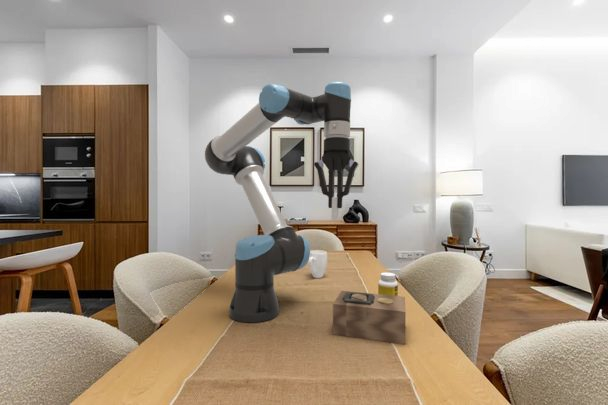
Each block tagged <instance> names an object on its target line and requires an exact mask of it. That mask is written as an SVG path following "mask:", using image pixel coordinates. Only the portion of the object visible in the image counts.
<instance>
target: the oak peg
mask: <svg viewBox="0 0 608 405" xmlns="http://www.w3.org/2000/svg"><path fill="white" fill-rule="evenodd" d="M352 299H356V300H365V301H366V300H367V297H366V295H363V294H353V295H352Z"/></svg>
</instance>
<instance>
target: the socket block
mask: <svg viewBox="0 0 608 405" xmlns="http://www.w3.org/2000/svg"><path fill="white" fill-rule="evenodd" d="M353 294H363V295H366V297H367V300H366V301H365V300H356V299H352V295H353ZM406 312H407V311H406V297H405V296H402V295H401V296H399V295H398V296H391V295H380V294H378V293H367V292H357V291H356V292H355V291H349V290H341V291H340V292H339V294H338V295H337V297H336V298H335V300H334V302H332V335H335V336H336V335H337V336H341V337H342V336H343V337H349V338H358V339H365V340H370V341H378V342H386V343H394V344H398V345H399V344H400V345H406V318H407V316H406V314H407V313H406Z"/></svg>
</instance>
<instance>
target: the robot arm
mask: <svg viewBox="0 0 608 405" xmlns="http://www.w3.org/2000/svg"><path fill="white" fill-rule="evenodd" d="M261 90H262V91H260V92H259V97H258V103H257V104H256V105H255V106H253V107H252V108H251V109H250V110H249V111H248V112H247V113H246V114H245V115H243V116H242V117H241V118H240V119H239V120H238V121H236V122H235V123H234V124H233V125H231V127H229V129H227V130H226V131H225V132H223V134H221V135H216V136H214V137H213V138H212V139H211V140H210V141H209V142H208V143H207V145H206V148H205V150H204V158H205V162H206V164H207V166H208V167H209V169H211V170H212V171H213V172H214V173H217V174H220V175H227V176H228V175H229V176H232V177H233V179H234V181H235V182H236V184H237V185H240V186H242V188H243V191H244V193H245V195H246V197H247V199H248V201H249V204H250V206H251V208H252V210H253V213H254V215H255V216H256V219H257V221H258V224H259V225H260V228H261V230H262V232H263V234H259V235H251V236H246V237H244V238H241V239H239V240H238V241H237V242H236V245H235V252H234V258H235V260H234V261H235V264H234V266H235V270H234V271H235V272H234V273H235V274H234V275H235V277H234V279H235V280H234V282H235V287H234V292H233V295H232V298H231V302H230V303H229V304H230V305H229V307H228V308H229V309H228V310H229V311H228V312H229V313H228V314H229V317H230V318H231V319H232V320H234V321H237V322H241V323H261V322H265V321H269V320H273V319H274V318H276V317H278V316H279V313H280V304H279V302H278V301H279V300H278V297H277V295H276V292H275V286H274V285H275V284H274V283H275V280H274V279H275V278H274V277H275V276H277V275H282V274H286V273H291V272H292V273H293V272H296V271H298V270H301V269H303V268H304V267H305V266H306V265H307V264H308V261H309V255H310V251H311V246H310V243H309V241H308V239H307V238H306V237H304V236H302V235H299V234H298V235H297V232H296V230H295V229H294V227H293V226H291V225H288V224H287V222H286V220H285V218H284V216H283V214H282V212H281V210H280V208H279V206H278V204H277V202H276V200H275V199H274V196H273V195H272V192H271V190H270V188H269V185H268V184H267V182H266V180H265V178H264V173H265V168H266V164H265V163H266V160H265V157H264V154H263V153H262V151H261V150H259V149H258V148H255V147H252V146H248V145H249V144H251V143H252V142H253V141H254V140H256V139H257V138H258V137H260V136H261V135H262V134H263V133H265V132H266V131H267V130H269V129H270V128H271V127H273V126H274V125H276V124H277V123H278V122H279V121H280V120H282V119H283V118H285V117H286V118H289V119H293V120H294V121H295V122H296V123H297V124H298V125H301V126H302V125H307V126H308V125H312V124H317V123H321V122H323V137H324V139H323V154H322V156H321V159H320V160H318V161H316V162H314V164H313V166H314V167H315V168H316V170H317V174H318V179H319V184H320V188H321V193H322V194H323V195H325V196H327V197H328V202H327V203H328V204H327V206H328V209H331V220H332V221H338V220H339V210H340V209H342V208H343V199H344V198H343V197H346V196H348V195H349V194H350V190H351V186H352V183H353V179H354V175H355V171H356V170H357V168H358V167H359V162H357V161H355V160H353V159H352V156H351V154H350V151H351V150H350V148H351V146H350V144H351V140H350V137H351V107H352V96H351V95H352V94H351V91H352V90H351V86H350V85H349V84H348V83H346V82H344V81H343V82H342V81H332V82H329V83H328V84H326V85H325V87H324V91H323V92H324V93H323V94H321V95H317V96H310V95H308V94H307V95H306V94H305V93H302V92H298V91H295V90H293V89H291V88H288V87H285V86H283V85H281V84H275V83H267V84H266V85H264V86H262V89H261ZM348 164H349V165H348ZM324 165H325V167H326V168H327V170H328V171H327V172H328V185H327V181H326V175H325V172H324V169H323V168H324ZM347 166H349V169H348V174H347V178H346V181H345V186H344V171H345V169H346V168H347ZM336 173H337V178H336V179H337V182H336V185H337V186H336V187H337V188H336V196H335V174H336Z"/></svg>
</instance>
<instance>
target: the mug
mask: <svg viewBox="0 0 608 405" xmlns="http://www.w3.org/2000/svg"><path fill="white" fill-rule="evenodd" d="M307 264H308V268H309V270H310V272H311V275H312V277H313V278H315V279H321V278H323V277H324V275H325V272H326V270H327V269H326V268H327V266H328V252H327V251H326V250H321V249H315V250H314V249H313V250H310V255H309V260H308V263H307Z"/></svg>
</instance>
